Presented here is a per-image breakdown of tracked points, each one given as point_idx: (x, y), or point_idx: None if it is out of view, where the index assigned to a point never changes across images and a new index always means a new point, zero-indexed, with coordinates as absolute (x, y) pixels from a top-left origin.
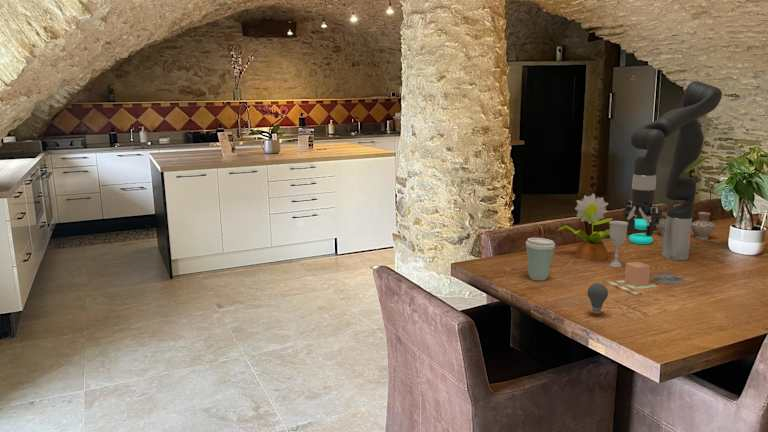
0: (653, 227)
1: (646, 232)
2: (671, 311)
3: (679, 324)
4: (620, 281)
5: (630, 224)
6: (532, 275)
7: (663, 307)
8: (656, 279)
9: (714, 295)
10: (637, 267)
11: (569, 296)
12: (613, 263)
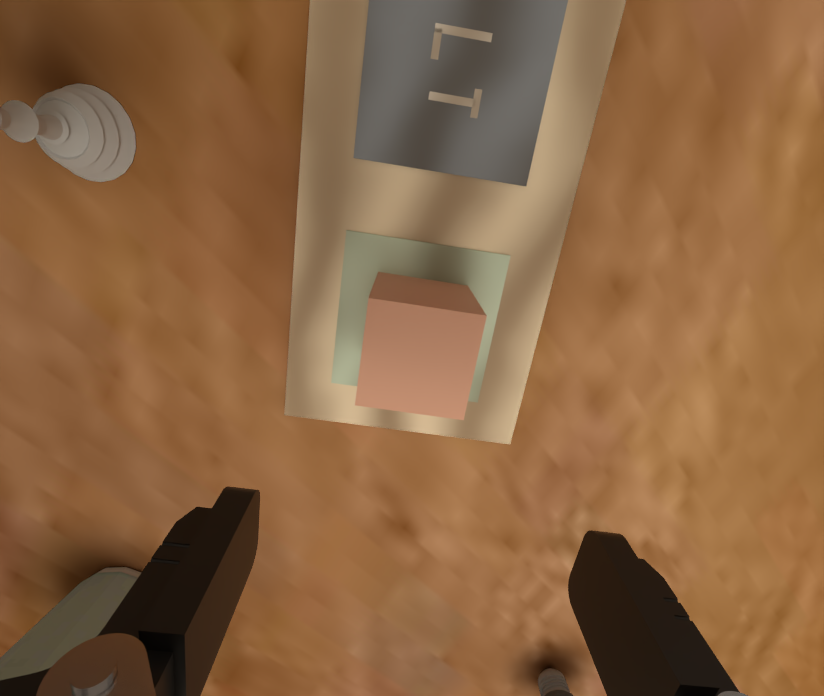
0: (728, 680)
1: (595, 641)
2: (714, 461)
3: (793, 537)
4: (349, 366)
5: (217, 636)
6: None
7: (669, 451)
8: (427, 153)
9: (780, 70)
10: (462, 417)
11: (370, 632)
12: (76, 163)
